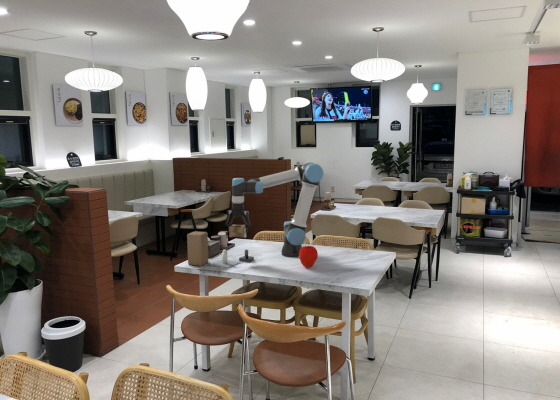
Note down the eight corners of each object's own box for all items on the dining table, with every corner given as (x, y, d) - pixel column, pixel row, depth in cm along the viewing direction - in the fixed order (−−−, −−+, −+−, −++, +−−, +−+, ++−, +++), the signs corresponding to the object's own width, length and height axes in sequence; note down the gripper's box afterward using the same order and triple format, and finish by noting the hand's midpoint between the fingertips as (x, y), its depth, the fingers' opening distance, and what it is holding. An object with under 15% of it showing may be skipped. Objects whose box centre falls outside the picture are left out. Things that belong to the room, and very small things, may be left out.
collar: (246, 234, 291) (246, 225, 290) (243, 237, 282) (243, 227, 282) (232, 233, 292) (232, 224, 291) (229, 236, 283) (229, 227, 283)
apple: (312, 270, 269) (312, 249, 267) (295, 268, 275) (295, 246, 273) (320, 266, 279) (321, 245, 277) (304, 263, 285) (304, 242, 283)
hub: (240, 263, 286) (240, 248, 285) (227, 268, 274) (226, 253, 273) (222, 260, 293) (222, 246, 292) (209, 265, 281) (208, 250, 280)
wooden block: (209, 262, 289) (208, 231, 286) (201, 266, 280) (200, 235, 277) (195, 260, 292) (194, 230, 289) (187, 265, 283) (186, 234, 280)
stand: (254, 259, 294) (253, 249, 293) (248, 262, 288) (247, 251, 287) (245, 258, 297) (245, 248, 296) (239, 261, 291) (238, 250, 290)
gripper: (255, 202, 287) (255, 236, 290) (222, 200, 289) (222, 235, 292) (253, 203, 279) (253, 239, 283) (219, 202, 282) (219, 237, 285)
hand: (237, 236), depth 287 cm, fingers closed on collar, 9 cm apart
